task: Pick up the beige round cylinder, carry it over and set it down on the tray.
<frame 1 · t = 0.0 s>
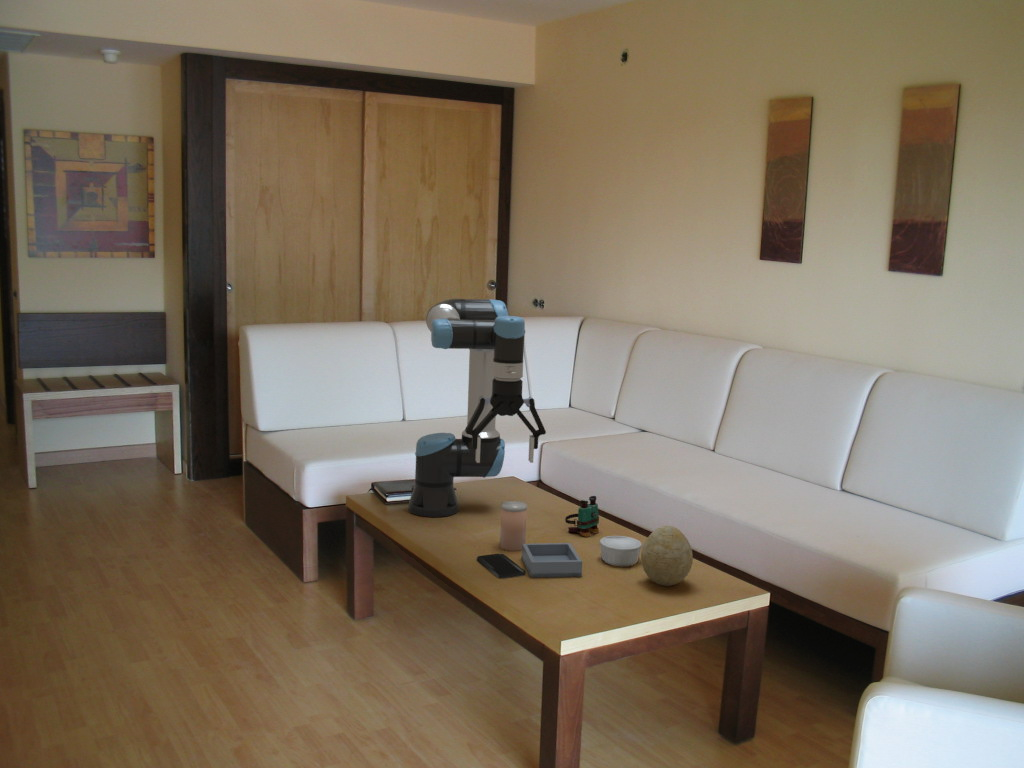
hand: (504, 461, 240), 28 cm above the table, tool pointing down, fingers open, 13 cm apart
phone: (500, 569, 245), on the table
tray: (550, 567, 246), on the table
fossilized egg: (664, 584, 238), on the table
binoculars: (580, 532, 276), on the table
beige round cylinder: (512, 546, 261), on the table
ramekin: (619, 561, 254), on the table
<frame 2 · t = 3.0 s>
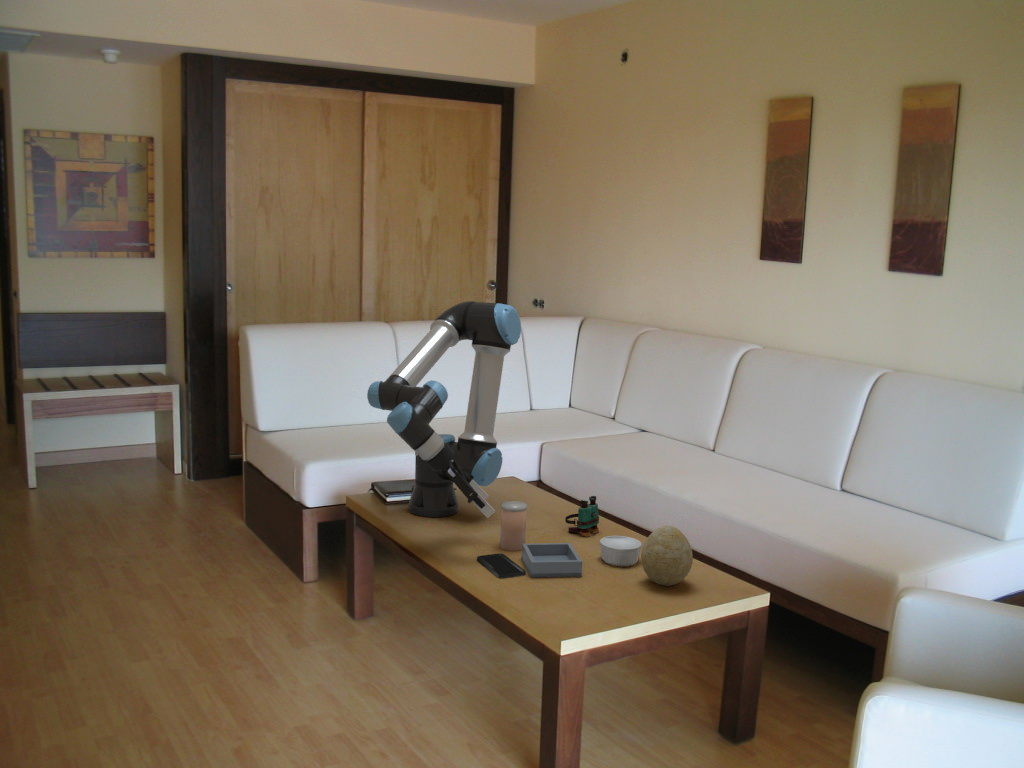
hand: (488, 506, 256), 12 cm above the table, tool tilted 45°, fingers open, 13 cm apart
nothing on the table moved.
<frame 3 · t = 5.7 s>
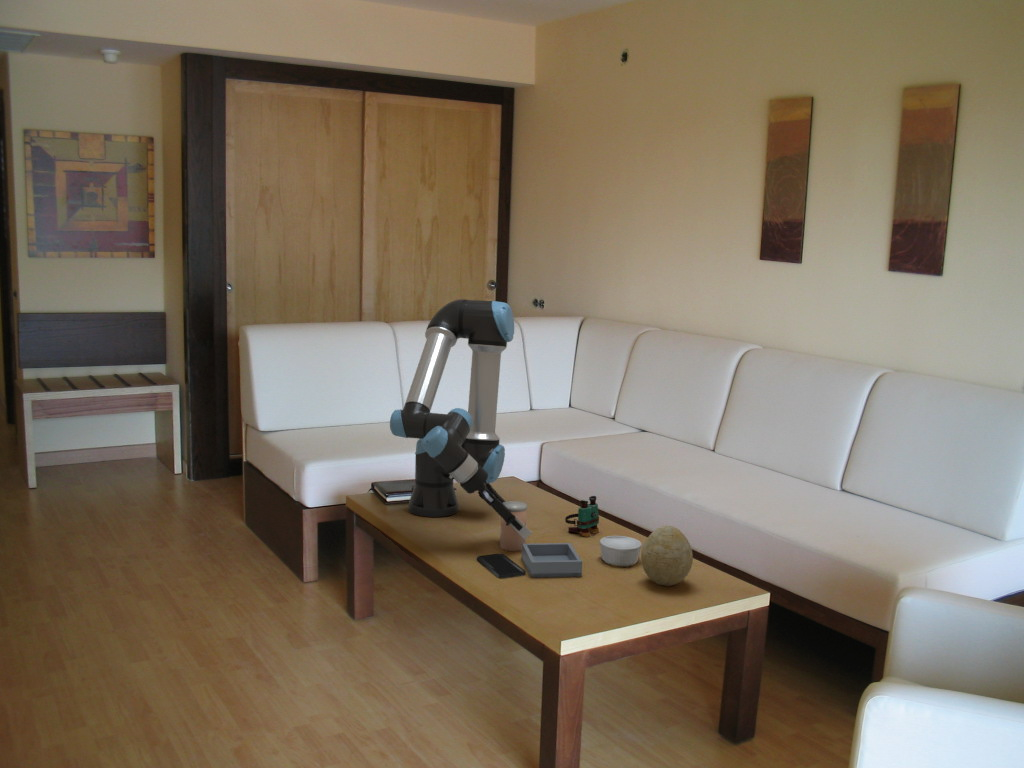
hand: (525, 531, 261), 4 cm above the table, tool tilted 45°, fingers closed on beige round cylinder, 7 cm apart
beige round cylinder: (512, 546, 261), on the table, touching gripper
everything else where it was.
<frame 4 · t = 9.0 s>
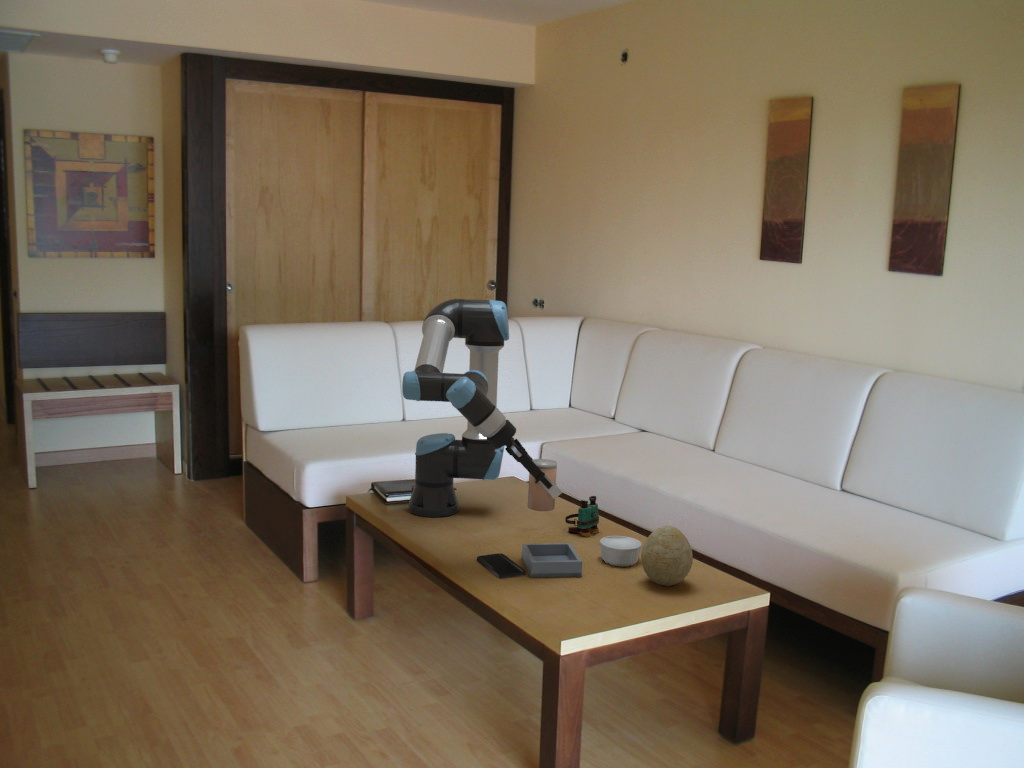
hand: (555, 491, 246), 20 cm above the table, tool tilted 45°, fingers closed on beige round cylinder, 7 cm apart
beige round cylinder: (541, 507, 246), point 15 cm above the table, touching gripper
everything else where it was.
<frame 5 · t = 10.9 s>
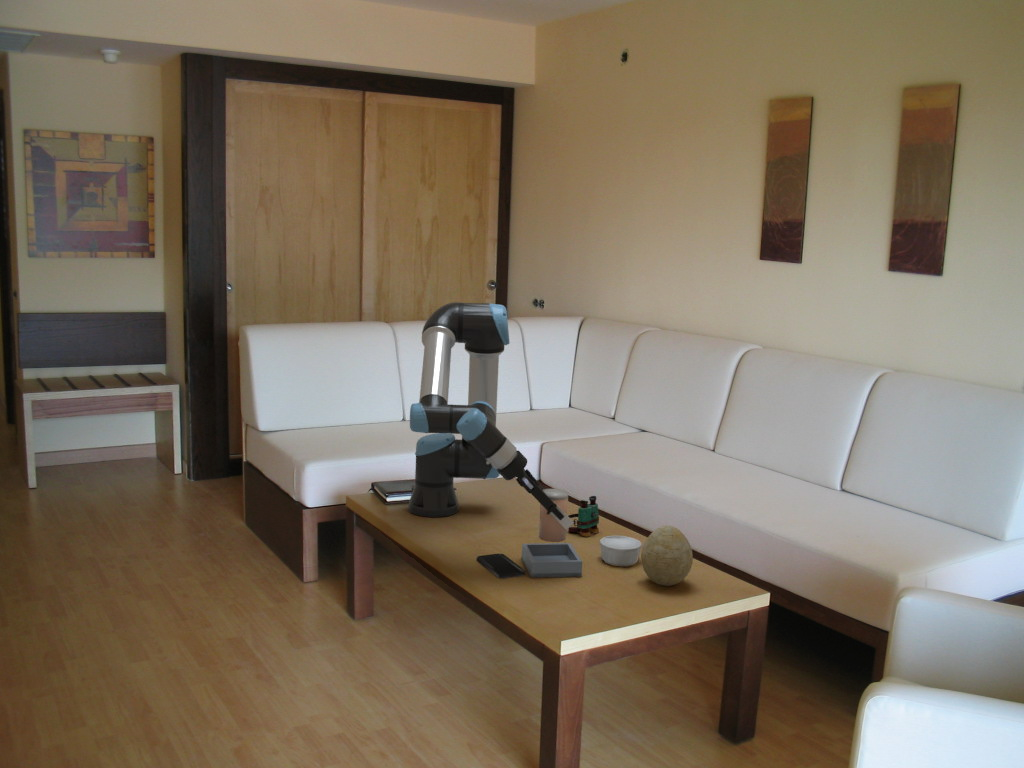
hand: (566, 521, 244), 13 cm above the table, tool tilted 45°, fingers closed on beige round cylinder, 7 cm apart
beige round cylinder: (552, 537, 245), point 8 cm above the table, touching gripper
everything else where it was.
when the fingers open (6 cm above the table, at t = 12.7 s): beige round cylinder drops 1 cm, resting on tray.
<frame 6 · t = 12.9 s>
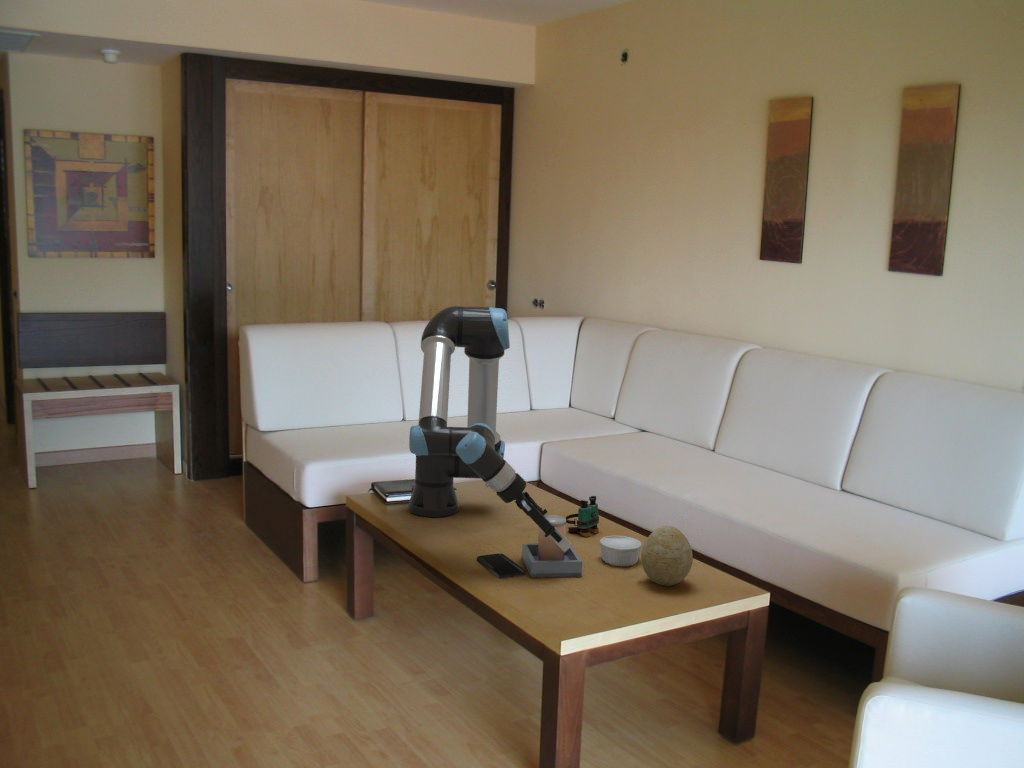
hand: (563, 541, 246), 7 cm above the table, tool tilted 45°, fingers open, 10 cm apart
beige round cylinder: (550, 563, 246), point 1 cm above the table, touching tray
everything else where it was.
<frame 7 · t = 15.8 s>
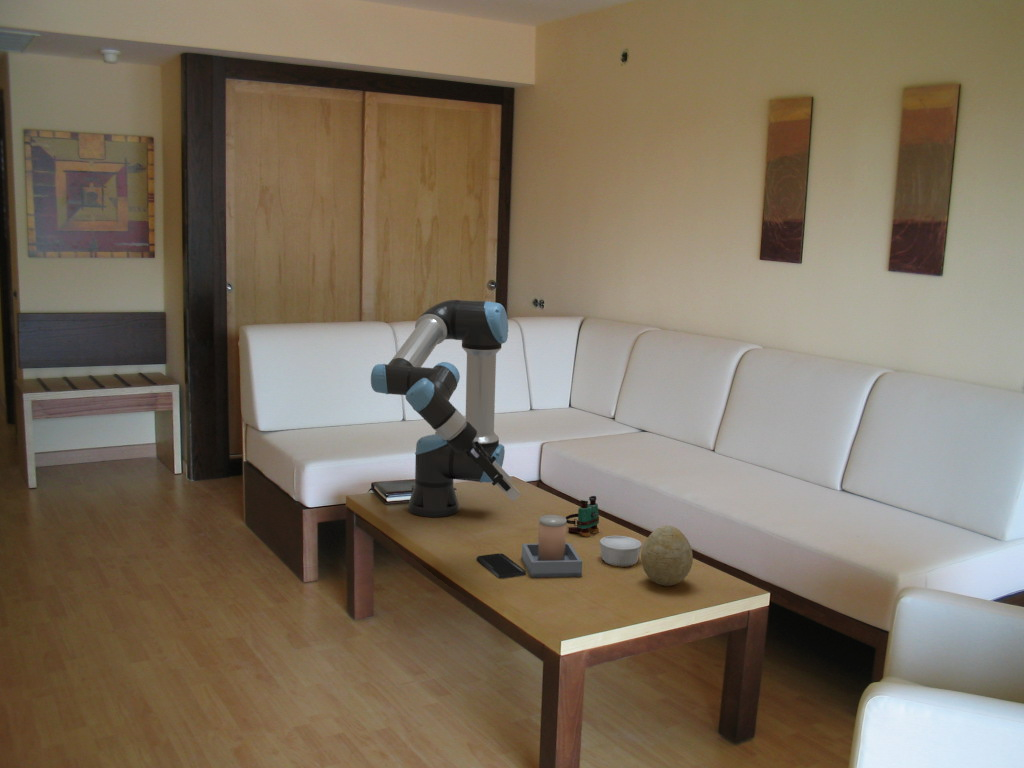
hand: (512, 489, 242), 21 cm above the table, tool tilted 45°, fingers open, 13 cm apart
nothing on the table moved.
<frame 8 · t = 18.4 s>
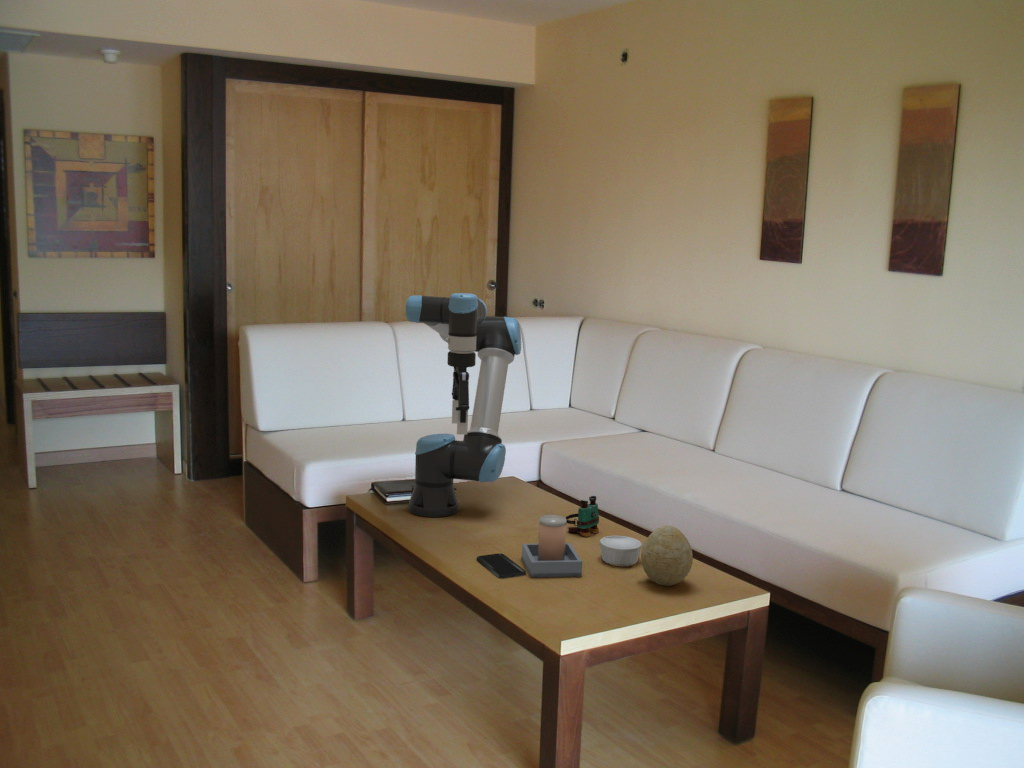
hand: (459, 428, 259), 32 cm above the table, tool pointing down, fingers open, 13 cm apart
nothing on the table moved.
at the end: beige round cylinder inside the target area on the tray (0.1 cm from its centre), point 1.0 cm above the tray's base; beige round cylinder tilted 0°; the gripper is holding nothing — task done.
